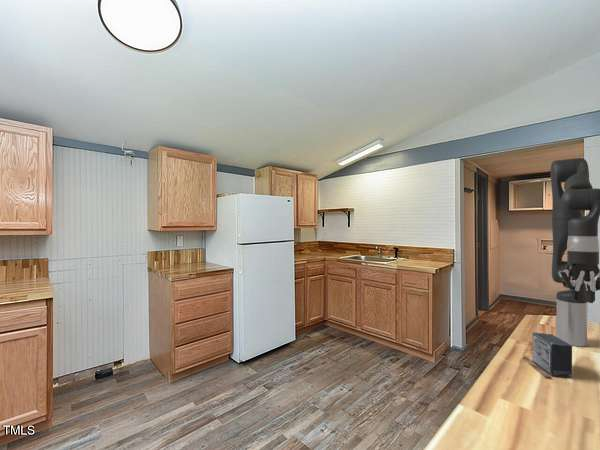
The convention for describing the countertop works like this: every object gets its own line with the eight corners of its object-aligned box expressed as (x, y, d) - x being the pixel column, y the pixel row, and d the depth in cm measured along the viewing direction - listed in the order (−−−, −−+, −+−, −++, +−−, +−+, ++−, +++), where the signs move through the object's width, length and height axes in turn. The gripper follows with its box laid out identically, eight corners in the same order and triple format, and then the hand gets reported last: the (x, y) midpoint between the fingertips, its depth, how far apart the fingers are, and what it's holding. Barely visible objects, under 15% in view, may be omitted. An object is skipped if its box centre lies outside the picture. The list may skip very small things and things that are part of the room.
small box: (574, 378, 92) (574, 345, 92) (550, 376, 93) (550, 343, 93) (552, 363, 102) (552, 333, 102) (531, 361, 103) (531, 332, 103)
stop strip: (522, 358, 106) (522, 356, 106) (527, 358, 105) (527, 357, 105) (545, 378, 92) (545, 376, 92) (551, 378, 92) (551, 376, 92)
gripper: (599, 249, 98) (599, 300, 98) (550, 248, 101) (550, 298, 101) (618, 251, 90) (618, 306, 90) (565, 250, 94) (565, 304, 94)
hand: (582, 301), depth 96 cm, fingers open, 3 cm apart
